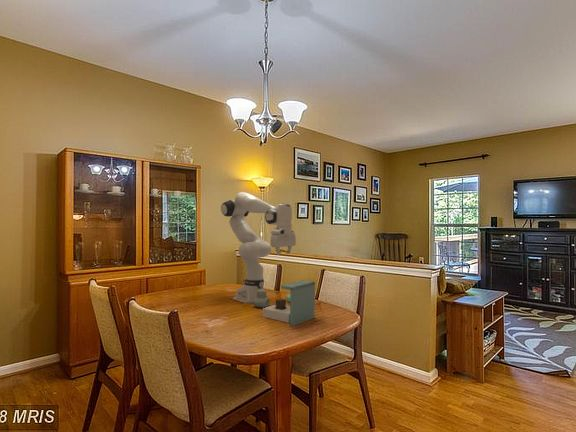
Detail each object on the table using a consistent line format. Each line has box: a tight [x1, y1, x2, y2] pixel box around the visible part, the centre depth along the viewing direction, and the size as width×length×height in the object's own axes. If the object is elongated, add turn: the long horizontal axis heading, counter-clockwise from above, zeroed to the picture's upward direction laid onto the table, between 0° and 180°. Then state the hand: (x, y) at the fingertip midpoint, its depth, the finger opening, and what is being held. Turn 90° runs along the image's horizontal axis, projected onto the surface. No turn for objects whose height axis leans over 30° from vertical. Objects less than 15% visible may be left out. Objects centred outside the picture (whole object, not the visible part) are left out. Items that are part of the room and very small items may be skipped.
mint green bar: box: [285, 293, 290, 303], centre depth 218 cm, size 6×6×25 cm
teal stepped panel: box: [280, 280, 316, 327], centre depth 184 cm, size 8×20×20 cm, turn 143°
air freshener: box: [252, 289, 271, 309], centre depth 212 cm, size 11×8×10 cm
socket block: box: [262, 304, 290, 324], centre depth 190 cm, size 18×14×4 cm
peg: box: [275, 298, 287, 310], centre depth 191 cm, size 4×4×9 cm
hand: (283, 254), depth 203 cm, fingers open, 8 cm apart
